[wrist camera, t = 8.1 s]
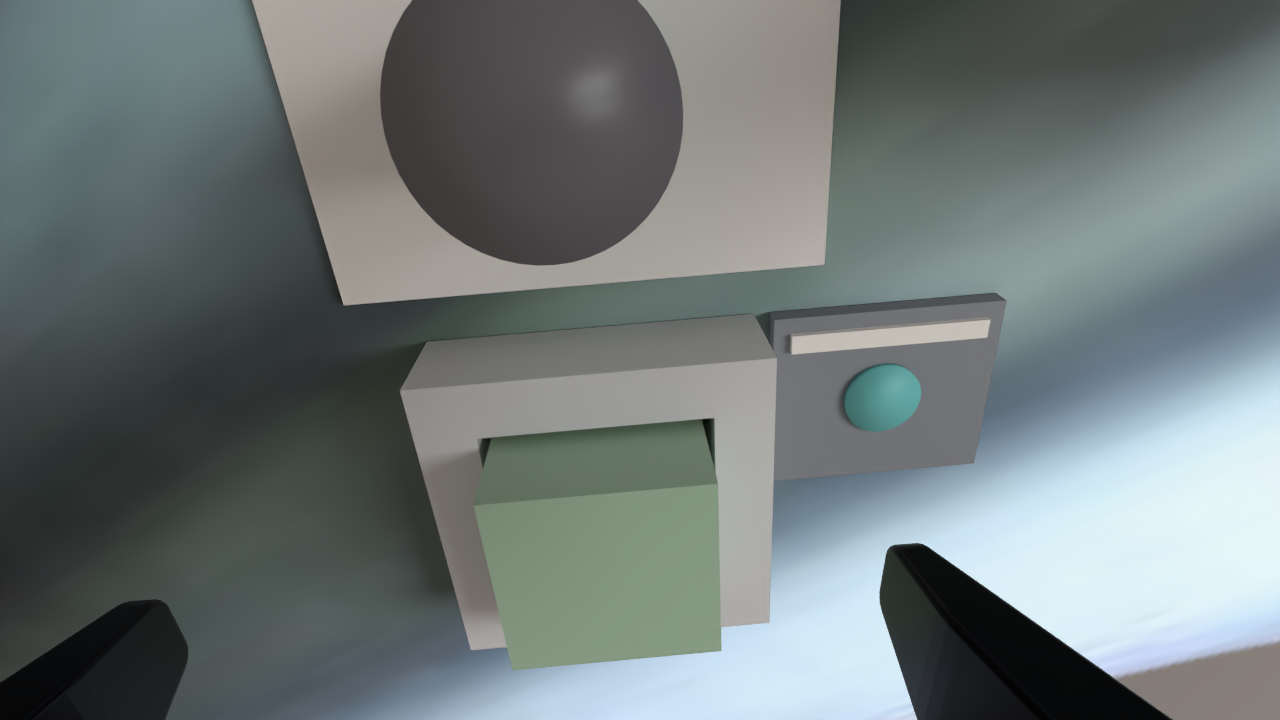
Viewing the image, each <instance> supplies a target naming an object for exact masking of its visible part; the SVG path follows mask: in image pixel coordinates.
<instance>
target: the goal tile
mask: <svg viewBox="0 0 1280 720" xmlns="http://www.w3.org/2000/svg"><path fill="white" fill-rule="evenodd" d="M1006 301H1007V300H1005V299H1004V298H1002V297H1001V296H999V295H998V294H997V293H990V294H979V295H967V296H955V297H944V298H932V299H920V300H909V301H897V302H885V303H873V304H862V305H850V306H838V307H827V308H815V309H803V310H792V311H780V312H770V331H769V344H770V346H771V348H772V350H773V351H774V353H775V355H776V357H777V376H776V410H775V444H774V478H773V481H781V480H792V479H803V478H814V477H826V476H837V475H848V474H859V473H870V472H882V471H893V470H904V469H915V468H926V467H938V466H949V465H960V464H971V463H974V460H975V455H976V450H977V445H978V440H979V435H980V430H981V425H982V420H983V415H984V410H985V405H986V400H987V395H988V390H989V385H990V380H991V375H992V370H993V365H994V360H995V355H996V350H997V345H998V340H999V335H1000V330H1001V325H1002V320H1003V315H1004V310H1005V306H1006Z"/></svg>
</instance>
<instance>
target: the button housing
mask: <svg viewBox="0 0 1280 720" xmlns="http://www.w3.org/2000/svg"><path fill="white" fill-rule="evenodd" d="M776 376H777V357H776V355H775V353H774V351H773V350H772V348H771V346H770V344H769V342H768V340H767V338H766V336H765V334H764V332H763V331H762V329H761V327H760V325H759V323H758V321H757V319H756V317H755V315H754V314H745V315H733V316H721V317H710V318H698V319H686V320H675V321H663V322H651V323H640V324H628V325H616V326H605V327H593V328H581V329H570V330H558V331H546V332H534V333H523V334H511V335H499V336H488V337H476V338H464V339H453V340H441V341H429V342H426V344H425V346H424V348H423V350H422V351H421V353H420V355H419V357H418V359H417V360H416V362H415V364H414V366H413V368H412V369H411V371H410V373H409V375H408V377H407V379H406V380H405V382H404V384H403V386H402V388H401V389H400V393H401V397H402V401H403V404H404V408H405V412H406V415H407V419H408V423H409V426H410V430H411V433H412V437H413V441H414V444H415V448H416V452H417V455H418V459H419V462H420V466H421V470H422V473H423V477H424V481H425V484H426V488H427V492H428V495H429V499H430V502H431V506H432V510H433V513H434V517H435V521H436V524H437V528H438V531H439V535H440V539H441V542H442V546H443V550H444V553H445V557H446V561H447V564H448V568H449V571H450V575H451V579H452V582H453V586H454V590H455V593H456V597H457V600H458V604H459V608H460V611H461V615H462V619H463V622H464V626H465V629H466V633H467V637H468V640H469V644H470V648H471V650H479V649H490V648H500V647H507V645H506V641H505V637H504V632H503V628H502V624H501V620H500V616H499V611H498V607H497V603H496V599H495V595H494V590H493V586H492V582H491V578H490V574H489V569H488V565H487V561H486V557H485V552H484V548H483V544H482V540H481V536H480V531H479V527H478V523H477V519H476V515H475V510H474V506H473V505H474V501H475V498H476V494H477V490H478V486H479V483H480V479H481V475H482V471H483V468H484V464H485V460H486V456H487V453H488V449H489V445H490V441H491V438H492V437H502V436H514V435H525V434H536V433H548V432H559V431H571V430H582V429H593V428H605V427H616V426H628V425H639V424H650V423H662V422H673V421H685V420H696V419H702V422H703V426H704V430H705V434H706V438H707V442H708V446H709V450H710V454H711V458H712V462H713V466H714V469H715V473H716V477H717V481H718V503H719V556H720V608H721V627H728V626H739V625H749V624H760V623H769V615H770V581H771V547H772V512H773V478H774V444H775V410H776Z"/></svg>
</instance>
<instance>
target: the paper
mask: <svg viewBox="0 0 1280 720" xmlns="http://www.w3.org/2000/svg"><path fill="white" fill-rule="evenodd" d="M411 1H412V0H252V2H253V5H254V8H255V12H256V15H257V18H258V22H259V25H260V28H261V32H262V35H263V38H264V42H265V45H266V48H267V52H268V55H269V58H270V62H271V65H272V68H273V72H274V75H275V78H276V82H277V85H278V88H279V92H280V95H281V98H282V102H283V105H284V108H285V112H286V115H287V118H288V122H289V125H290V128H291V132H292V135H293V138H294V142H295V145H296V148H297V152H298V155H299V158H300V162H301V165H302V168H303V172H304V175H305V178H306V182H307V185H308V188H309V191H310V195H311V198H312V201H313V205H314V208H315V211H316V215H317V218H318V221H319V225H320V228H321V231H322V235H323V238H324V241H325V245H326V248H327V251H328V255H329V258H330V261H331V265H332V268H333V271H334V275H335V278H336V281H337V285H338V288H339V291H340V295H341V298H342V301H343V305H355V304H367V303H379V302H390V301H402V300H414V299H426V298H438V297H449V296H461V295H473V294H485V293H497V292H509V291H520V290H532V289H544V288H556V287H568V286H579V285H591V284H603V283H615V282H627V281H639V280H650V279H662V278H674V277H686V276H698V275H710V274H721V273H733V272H745V271H757V270H769V269H780V268H792V267H804V266H816V265H824V263H825V246H826V230H827V214H828V198H829V182H830V166H831V150H832V134H833V118H834V101H835V85H836V69H837V53H838V37H839V21H840V5H841V0H638V1H639V2H640V4H641V5H642V6H643V7H644V8H645V9H646V10H647V12H648V13H649V15H650V16H651V18H652V19H653V21H654V22H655V24H656V25H657V27H658V28H659V30H660V32H661V34H662V36H663V37H664V39H665V41H666V43H667V45H668V47H669V50H670V52H671V55H672V58H673V61H674V63H675V66H676V69H677V73H678V78H679V82H680V87H681V93H682V103H683V133H682V140H681V147H680V152H679V156H678V159H677V163H676V167H675V170H674V172H673V175H672V177H671V180H670V182H669V184H668V187H667V189H666V190H665V192H664V194H663V195H662V197H661V199H660V201H659V202H658V204H657V205H656V207H655V208H654V209H653V211H652V212H651V213H650V214H649V216H648V217H647V218H646V219H645V220H644V221H643V222H642V223H641V224H640V225H639V226H638V227H637V228H636V229H635V230H634V231H633V232H632V233H631V234H629V235H628V236H627V237H626V238H624V239H623V240H622V241H620V242H619V243H617V244H615V245H614V246H612V247H610V248H609V249H607V250H605V251H603V252H601V253H598V254H596V255H594V256H591V257H589V258H586V259H582V260H579V261H575V262H572V263H565V264H558V265H540V266H536V265H526V264H517V263H513V262H508V261H504V260H500V259H497V258H494V257H491V256H489V255H486V254H483V253H481V252H479V251H477V250H475V249H473V248H471V247H469V246H467V245H465V244H464V243H462V242H461V241H459V240H458V239H456V238H454V237H453V236H451V235H450V234H449V233H448V232H446V231H445V230H444V229H443V228H442V227H440V226H439V225H438V224H437V223H435V221H434V220H433V219H432V218H431V217H430V216H429V215H428V214H427V213H426V212H425V211H424V210H423V209H422V208H421V207H420V205H419V204H418V203H417V201H416V200H415V199H414V197H413V196H412V195H411V193H410V192H409V190H408V189H407V187H406V185H405V184H404V182H403V180H402V178H401V177H400V175H399V173H398V171H397V168H396V166H395V164H394V162H393V159H392V157H391V155H390V151H389V148H388V145H387V141H386V138H385V134H384V129H383V123H382V118H381V105H380V86H381V73H382V68H383V63H384V58H385V54H386V50H387V47H388V44H389V42H390V39H391V36H392V33H393V31H394V29H395V27H396V25H397V23H398V21H399V19H400V18H401V16H402V14H403V12H404V11H405V9H406V8H407V7H408V5H409V4H410V3H411Z"/></svg>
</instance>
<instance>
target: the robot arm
mask: <svg viewBox="0 0 1280 720" xmlns="http://www.w3.org/2000/svg"><path fill="white" fill-rule="evenodd" d="M880 605H881V610H882V613H883V616H884V619H885V622H886V625H887V628H888V631H889V635H890V638H891V641H892V644H893V647H894V650H895V653H896V656H897V659H898V662H899V665H900V668H901V671H902V674H903V678H904V681H905V684H906V687H907V690H908V693H909V696H910V699H911V702H912V705H913V708H914V711H915V714H916V717H917V720H1173V719H1171V718H1170V717H1169V716H1167V715H1166V714H1164V713H1163V712H1161V711H1160V710H1159V709H1157V708H1156V707H1154V706H1153V705H1152V704H1150V703H1149V702H1147V701H1146V700H1144V699H1143V698H1142V697H1140V696H1139V695H1137V694H1136V693H1135V692H1133V691H1132V690H1130V689H1129V688H1127V687H1126V686H1125V685H1123V684H1122V683H1120V682H1119V681H1117V680H1116V679H1115V678H1113V677H1112V676H1110V675H1109V674H1108V673H1106V672H1105V671H1103V670H1102V669H1100V668H1099V667H1098V666H1096V665H1095V664H1093V663H1092V662H1091V661H1089V660H1088V659H1086V658H1085V657H1083V656H1082V655H1081V654H1079V653H1078V652H1076V651H1075V650H1074V649H1072V648H1071V647H1069V646H1068V645H1066V644H1065V643H1064V642H1062V641H1061V640H1059V639H1058V638H1056V637H1055V636H1054V635H1052V634H1051V633H1049V632H1048V631H1047V630H1045V629H1044V628H1042V627H1041V626H1039V625H1038V624H1037V623H1035V622H1034V621H1032V620H1031V619H1030V618H1028V617H1027V616H1025V615H1024V614H1022V613H1021V612H1020V611H1018V610H1017V609H1015V608H1014V607H1012V606H1011V605H1010V604H1008V603H1007V602H1005V601H1004V600H1003V599H1001V598H1000V597H998V596H997V595H995V594H994V593H993V592H991V591H990V590H988V589H987V588H986V587H984V586H983V585H981V584H980V583H978V582H977V581H976V580H974V579H973V578H971V577H970V576H968V575H967V574H966V573H964V572H963V571H961V570H960V569H959V568H957V567H956V566H954V565H953V564H951V563H950V562H949V561H947V560H946V559H944V558H943V557H942V556H940V555H939V554H937V553H936V552H934V551H933V550H932V549H930V548H929V547H927V546H925V545H923V544H919V543H914V544H900V545H893V546H891V547H890V548H889V549H888V551H887V553H886V558H885V564H884V569H883V575H882V581H881V587H880ZM187 660H188V645H187V642H186V640H185V638H184V636H183V634H182V632H181V630H180V628H179V626H178V625H177V623H176V621H175V619H174V617H173V615H172V613H171V611H170V609H169V607H168V606H167V604H166V603H164V602H163V601H161V600H156V599H155V600H141V601H129V602H125V603H122V604H120V605H118V606H116V607H115V608H113V609H112V610H110V611H109V612H107V613H106V614H104V615H103V616H101V617H100V618H98V619H96V620H95V621H93V622H92V623H90V624H89V625H87V626H86V627H84V628H83V629H81V630H80V631H78V632H77V633H75V634H74V635H72V636H71V637H69V638H68V639H66V640H64V641H63V642H61V643H60V644H58V645H57V646H55V647H54V648H52V649H51V650H49V651H48V652H46V653H45V654H43V655H42V656H40V657H39V658H37V659H36V660H34V661H33V662H31V663H29V664H28V665H26V666H25V667H23V668H22V669H20V670H19V671H17V672H16V673H14V674H13V675H11V676H10V677H8V678H7V679H5V680H4V681H2V682H1V683H0V720H166V717H167V715H168V712H169V710H170V707H171V704H172V702H173V699H174V697H175V694H176V691H177V689H178V686H179V684H180V681H181V678H182V676H183V673H184V671H185V668H186V665H187Z"/></svg>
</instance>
